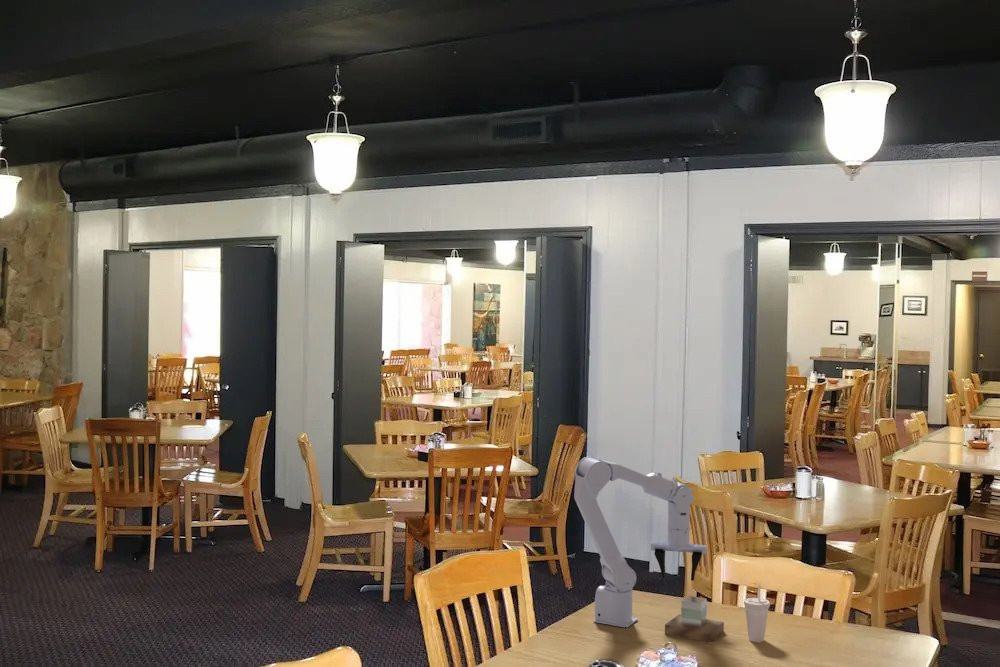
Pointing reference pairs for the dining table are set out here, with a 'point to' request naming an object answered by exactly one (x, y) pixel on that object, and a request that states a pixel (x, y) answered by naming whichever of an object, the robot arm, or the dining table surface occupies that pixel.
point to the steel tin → (694, 611)
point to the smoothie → (756, 617)
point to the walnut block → (695, 629)
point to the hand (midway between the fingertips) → (678, 578)
